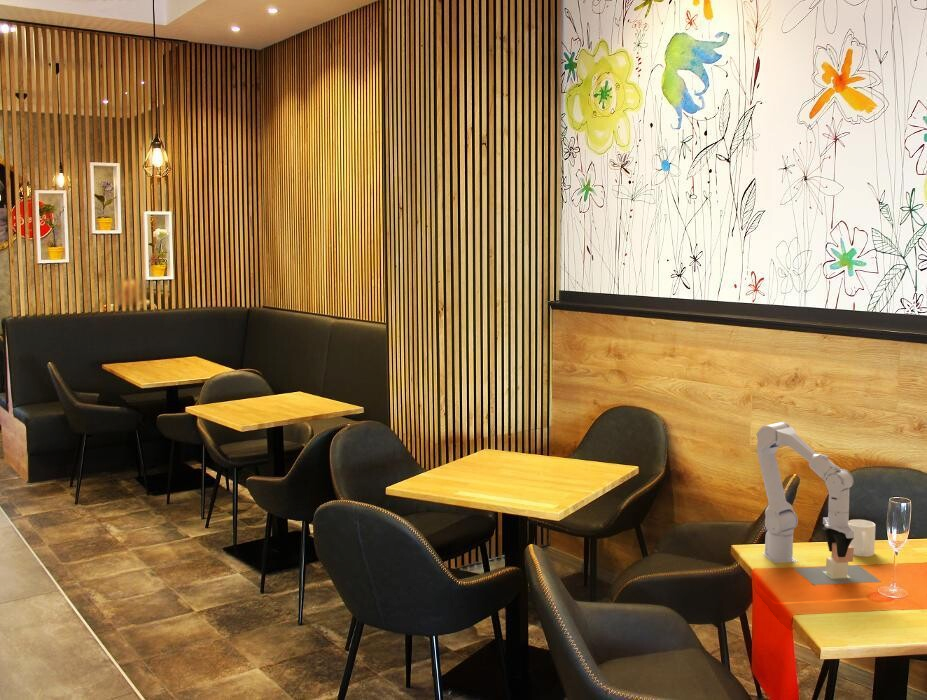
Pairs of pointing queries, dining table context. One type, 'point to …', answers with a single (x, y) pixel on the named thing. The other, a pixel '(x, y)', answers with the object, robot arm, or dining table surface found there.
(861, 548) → the mug
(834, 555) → the terracotta block
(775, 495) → the robot arm
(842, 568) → the cream block
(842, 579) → the mat
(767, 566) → the dining table surface
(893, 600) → the dining table surface
